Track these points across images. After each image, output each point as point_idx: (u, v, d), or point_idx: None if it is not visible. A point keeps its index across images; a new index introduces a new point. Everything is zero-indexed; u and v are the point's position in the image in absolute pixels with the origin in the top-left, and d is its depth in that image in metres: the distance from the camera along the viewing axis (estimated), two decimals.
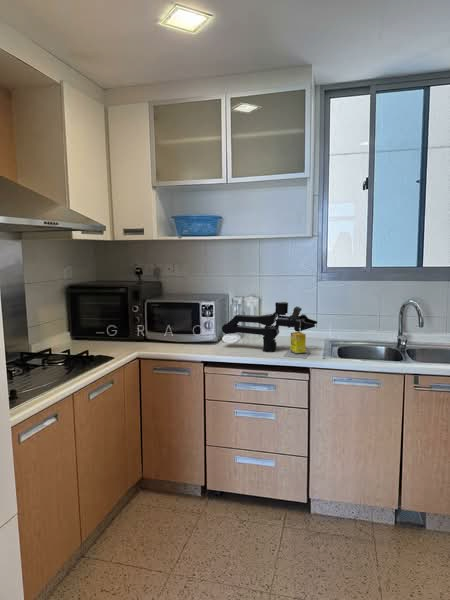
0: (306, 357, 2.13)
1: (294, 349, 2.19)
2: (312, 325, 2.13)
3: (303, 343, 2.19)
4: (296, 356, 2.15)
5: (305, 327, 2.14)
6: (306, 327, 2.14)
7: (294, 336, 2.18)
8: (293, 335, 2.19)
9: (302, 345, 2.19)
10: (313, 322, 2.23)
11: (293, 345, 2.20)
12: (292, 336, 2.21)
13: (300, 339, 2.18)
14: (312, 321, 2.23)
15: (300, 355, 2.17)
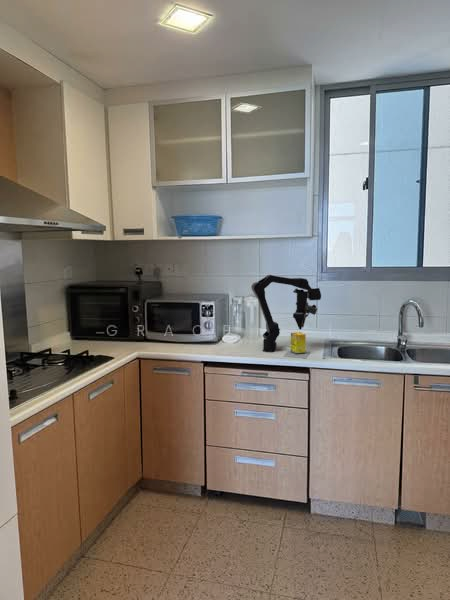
0: (306, 357, 2.13)
1: (294, 349, 2.19)
2: (300, 327, 2.26)
3: (303, 343, 2.19)
4: (296, 356, 2.15)
5: (298, 321, 2.25)
6: (298, 322, 2.25)
7: (294, 336, 2.18)
8: (293, 335, 2.19)
9: (302, 345, 2.19)
10: (302, 323, 2.32)
11: (293, 345, 2.20)
12: (292, 336, 2.21)
13: (300, 339, 2.18)
14: (302, 322, 2.32)
15: (300, 355, 2.17)
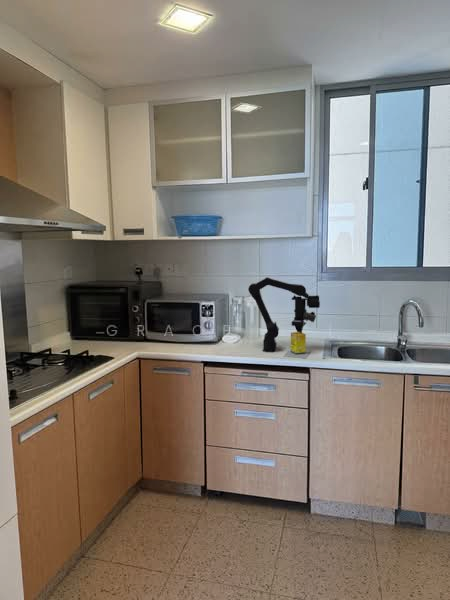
0: (306, 357, 2.13)
1: (294, 349, 2.19)
2: None
3: (303, 343, 2.19)
4: (296, 356, 2.15)
5: (297, 327, 2.24)
6: (297, 328, 2.24)
7: (294, 336, 2.18)
8: (293, 335, 2.19)
9: (302, 345, 2.19)
10: None
11: (293, 345, 2.20)
12: (292, 335, 2.21)
13: (300, 339, 2.18)
14: None
15: (300, 355, 2.17)
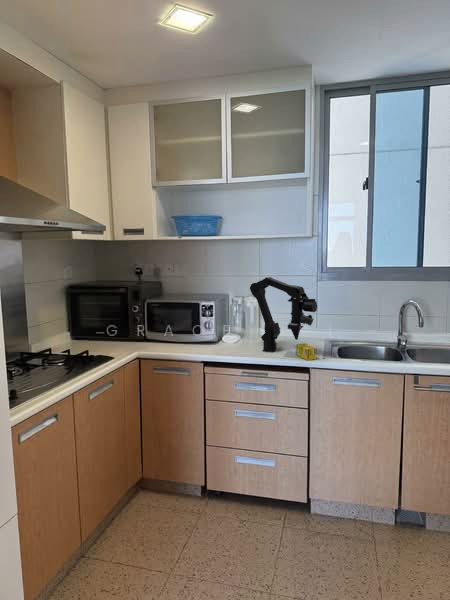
0: None
1: (298, 353, 2.15)
2: (296, 337, 2.16)
3: None
4: (296, 356, 2.15)
5: (294, 331, 2.15)
6: (294, 332, 2.15)
7: (305, 356, 2.08)
8: (305, 354, 2.08)
9: None
10: None
11: (300, 352, 2.13)
12: (305, 351, 2.08)
13: None
14: None
15: None
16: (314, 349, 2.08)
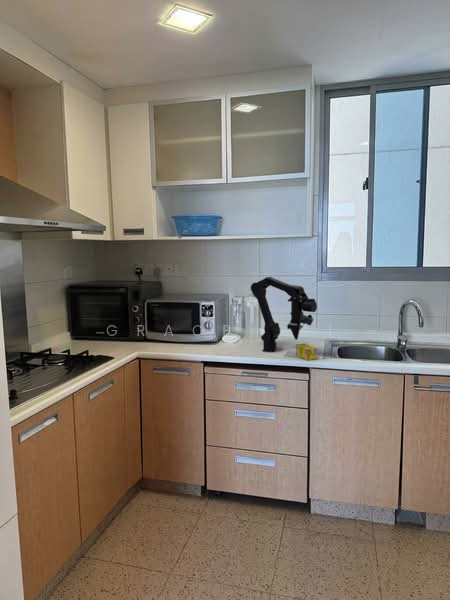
0: None
1: (298, 353, 2.15)
2: (296, 337, 2.15)
3: None
4: (296, 356, 2.15)
5: (293, 331, 2.14)
6: (293, 332, 2.15)
7: (305, 356, 2.08)
8: (305, 354, 2.08)
9: None
10: None
11: (300, 352, 2.13)
12: (304, 351, 2.08)
13: None
14: None
15: None
16: (314, 349, 2.08)
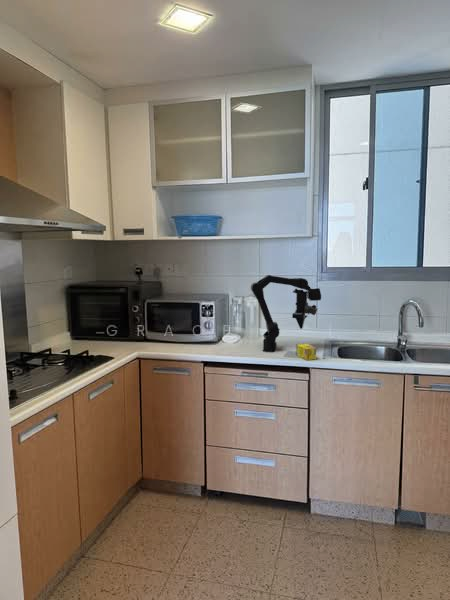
0: None
1: (298, 353, 2.15)
2: (301, 326, 2.27)
3: None
4: (296, 356, 2.15)
5: (298, 320, 2.26)
6: (298, 321, 2.27)
7: (305, 356, 2.08)
8: (305, 354, 2.08)
9: None
10: None
11: (300, 352, 2.13)
12: (304, 351, 2.08)
13: None
14: None
15: None
16: (314, 349, 2.08)
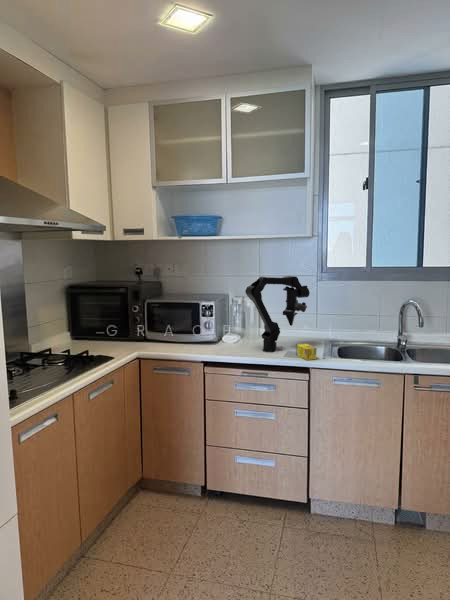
0: None
1: (298, 353, 2.15)
2: (291, 323, 2.32)
3: None
4: (296, 356, 2.15)
5: (288, 317, 2.31)
6: (288, 318, 2.31)
7: (305, 356, 2.08)
8: (305, 354, 2.08)
9: None
10: None
11: (300, 352, 2.13)
12: (304, 351, 2.08)
13: None
14: None
15: None
16: (314, 349, 2.08)
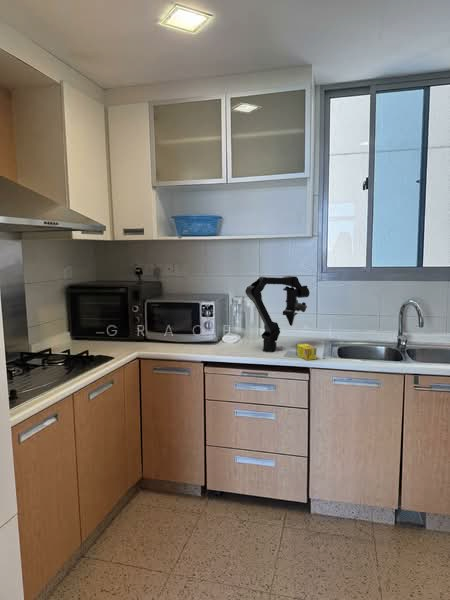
0: None
1: (298, 353, 2.15)
2: (291, 323, 2.32)
3: None
4: (296, 356, 2.15)
5: (288, 317, 2.31)
6: (288, 318, 2.31)
7: (305, 356, 2.08)
8: (305, 354, 2.08)
9: None
10: None
11: (300, 352, 2.13)
12: (304, 351, 2.08)
13: None
14: None
15: None
16: (314, 349, 2.08)
